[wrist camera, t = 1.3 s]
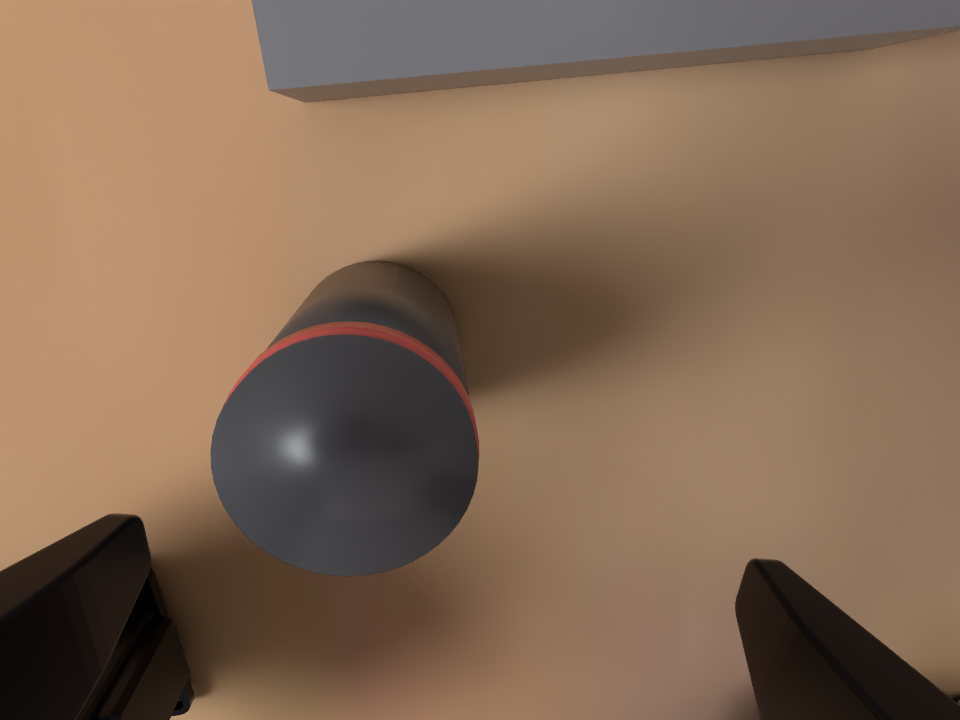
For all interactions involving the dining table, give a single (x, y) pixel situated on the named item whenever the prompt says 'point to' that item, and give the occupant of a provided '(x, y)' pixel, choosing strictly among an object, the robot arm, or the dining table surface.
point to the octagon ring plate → (556, 38)
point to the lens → (352, 428)
